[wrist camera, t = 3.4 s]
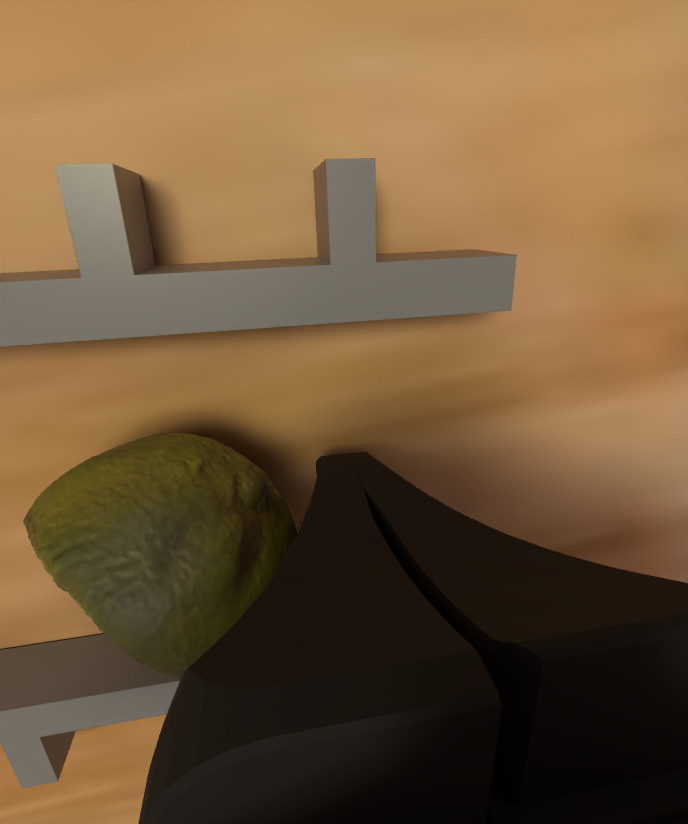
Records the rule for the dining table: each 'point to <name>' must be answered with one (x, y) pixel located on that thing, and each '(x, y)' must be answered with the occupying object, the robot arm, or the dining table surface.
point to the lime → (163, 543)
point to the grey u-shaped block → (180, 314)
